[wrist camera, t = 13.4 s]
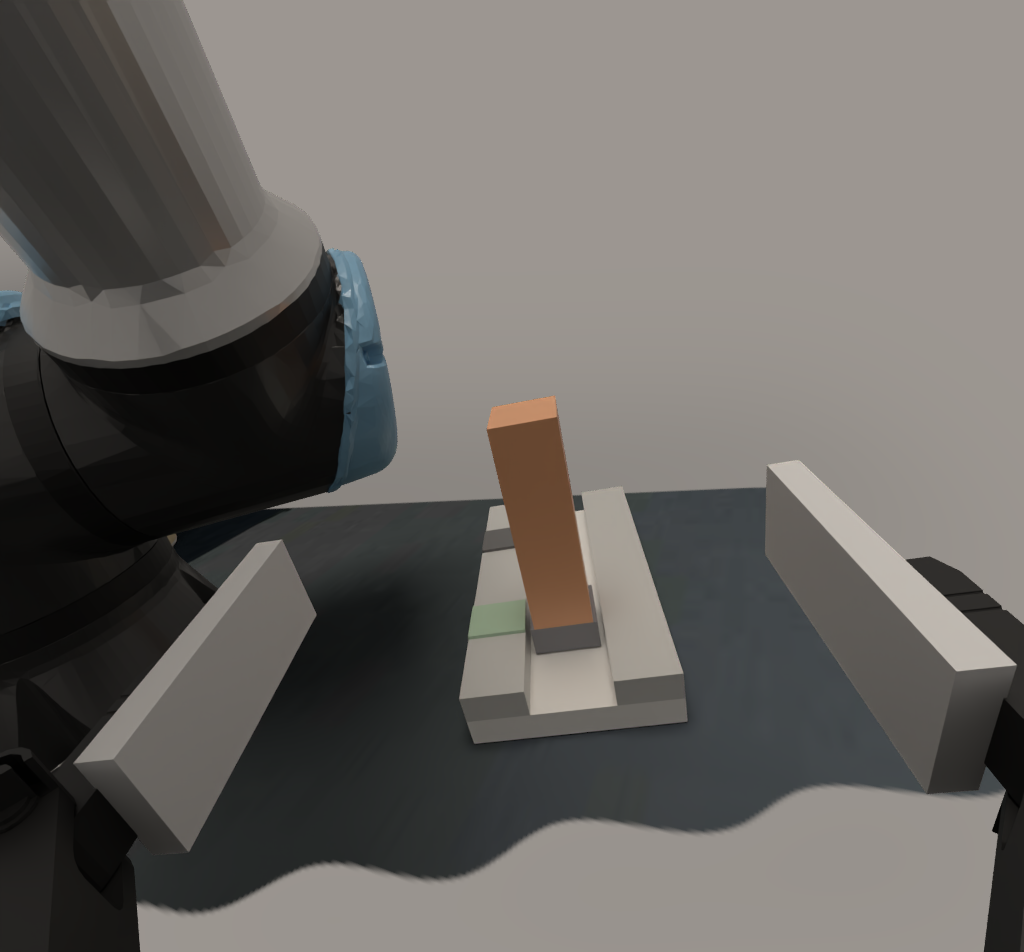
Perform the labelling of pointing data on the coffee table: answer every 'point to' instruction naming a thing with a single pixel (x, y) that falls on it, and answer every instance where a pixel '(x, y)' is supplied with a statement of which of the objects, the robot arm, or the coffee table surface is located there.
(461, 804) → the coffee table surface
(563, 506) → the handle
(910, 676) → the robot arm
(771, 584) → the coffee table surface
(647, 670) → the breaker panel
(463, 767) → the coffee table surface
